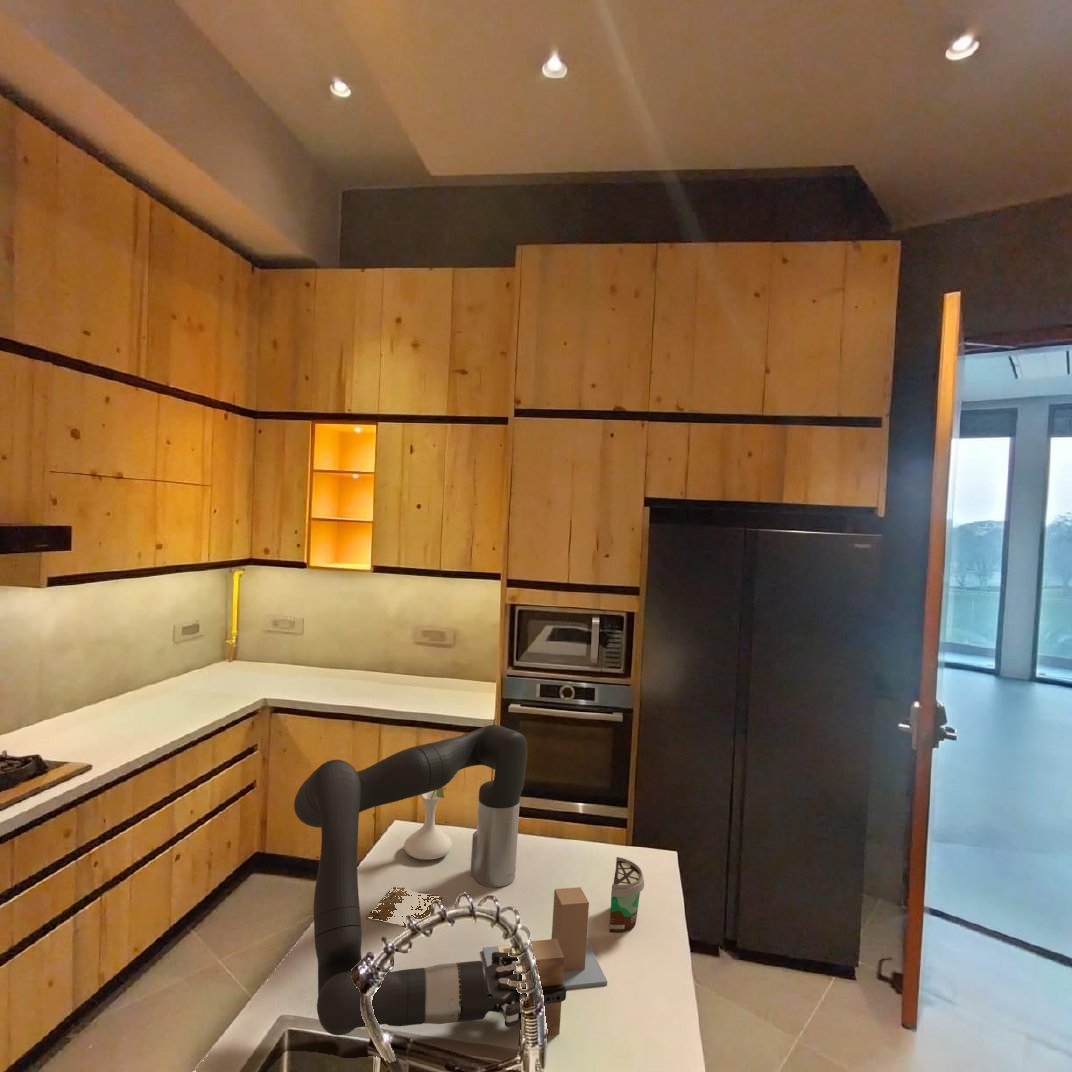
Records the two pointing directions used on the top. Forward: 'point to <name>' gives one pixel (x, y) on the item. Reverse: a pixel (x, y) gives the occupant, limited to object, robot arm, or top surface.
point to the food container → (625, 896)
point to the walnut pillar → (550, 977)
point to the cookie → (392, 899)
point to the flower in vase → (429, 832)
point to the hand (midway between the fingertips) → (560, 981)
